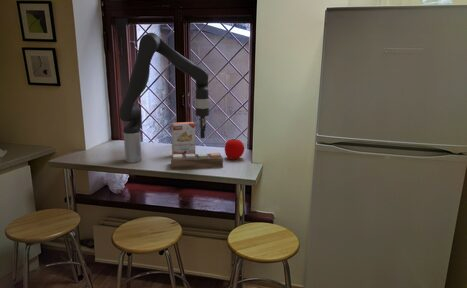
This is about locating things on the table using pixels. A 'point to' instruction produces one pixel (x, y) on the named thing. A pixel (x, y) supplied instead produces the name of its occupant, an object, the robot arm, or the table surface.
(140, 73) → the robot arm
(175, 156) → the ivory key
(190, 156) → the grey key
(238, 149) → the red apple
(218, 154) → the terracotta key
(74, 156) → the table surface
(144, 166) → the table surface
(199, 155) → the sage key
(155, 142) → the table surface
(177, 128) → the cracker box
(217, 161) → the brown long block
